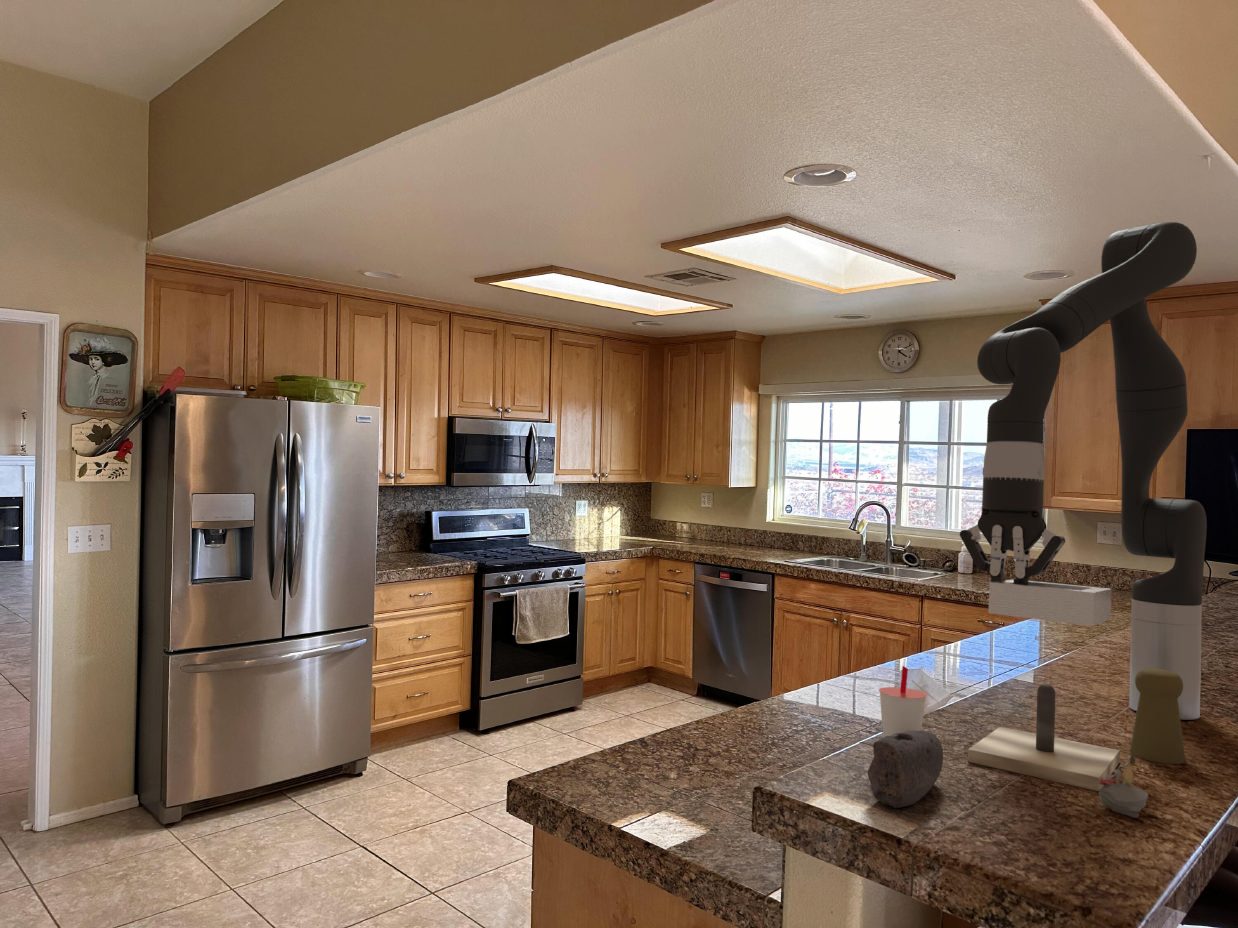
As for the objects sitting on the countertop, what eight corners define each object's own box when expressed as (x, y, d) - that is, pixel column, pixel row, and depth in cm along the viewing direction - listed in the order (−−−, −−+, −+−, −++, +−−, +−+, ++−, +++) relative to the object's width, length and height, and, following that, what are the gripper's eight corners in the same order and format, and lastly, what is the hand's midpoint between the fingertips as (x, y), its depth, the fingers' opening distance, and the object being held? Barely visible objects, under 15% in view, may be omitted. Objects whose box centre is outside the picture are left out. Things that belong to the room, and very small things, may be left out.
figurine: (1144, 824, 84) (1146, 764, 84) (1094, 812, 87) (1096, 754, 87) (1150, 809, 88) (1151, 752, 89) (1102, 799, 91) (1103, 743, 91)
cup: (921, 764, 100) (924, 663, 101) (927, 779, 95) (930, 672, 96) (874, 759, 102) (877, 659, 102) (878, 773, 96) (881, 668, 97)
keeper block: (999, 737, 113) (1001, 666, 113) (1119, 762, 104) (1121, 685, 105) (968, 761, 102) (970, 682, 103) (1098, 790, 93) (1100, 704, 94)
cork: (1194, 765, 104) (1196, 676, 105) (1140, 760, 105) (1142, 672, 106) (1172, 751, 110) (1174, 666, 110) (1122, 746, 111) (1124, 663, 112)
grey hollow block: (1013, 607, 119) (1014, 579, 119) (1110, 619, 111) (1111, 588, 111) (988, 613, 109) (989, 582, 110) (1092, 625, 102) (1093, 592, 102)
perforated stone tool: (914, 774, 97) (916, 713, 97) (960, 786, 93) (962, 723, 94) (854, 807, 86) (856, 738, 86) (904, 822, 82) (906, 750, 83)
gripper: (1075, 479, 113) (1071, 609, 112) (969, 477, 122) (964, 597, 121) (1063, 476, 107) (1058, 613, 106) (952, 473, 116) (947, 600, 115)
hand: (1008, 604), depth 114 cm, fingers closed on grey hollow block
